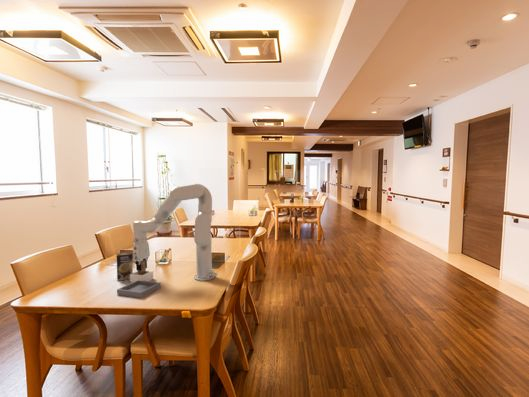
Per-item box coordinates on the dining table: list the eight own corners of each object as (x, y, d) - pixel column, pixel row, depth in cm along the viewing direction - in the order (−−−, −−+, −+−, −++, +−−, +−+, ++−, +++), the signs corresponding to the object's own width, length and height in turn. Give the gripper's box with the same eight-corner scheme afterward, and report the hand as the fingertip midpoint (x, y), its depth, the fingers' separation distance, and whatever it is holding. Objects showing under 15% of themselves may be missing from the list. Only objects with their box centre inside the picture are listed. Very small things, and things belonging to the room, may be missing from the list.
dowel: (147, 278, 190) (146, 260, 189) (142, 281, 186) (141, 262, 185) (141, 278, 192) (140, 259, 191) (136, 280, 187) (135, 261, 186)
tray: (160, 287, 176) (160, 282, 176) (141, 298, 161) (141, 292, 161) (137, 284, 181) (137, 279, 181) (117, 294, 166) (117, 289, 166)
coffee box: (117, 281, 188) (116, 255, 187) (117, 278, 194) (115, 253, 192) (133, 278, 192) (132, 253, 191) (132, 275, 198) (131, 251, 197)
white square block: (153, 278, 192) (153, 271, 191) (142, 283, 183) (142, 275, 182) (141, 277, 195) (140, 269, 194) (130, 282, 186) (129, 274, 185)
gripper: (135, 243, 178) (137, 274, 179) (154, 237, 194) (155, 265, 195) (125, 242, 180) (126, 272, 181) (144, 237, 196) (146, 265, 197)
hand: (141, 268), depth 188 cm, fingers closed on dowel, 4 cm apart
